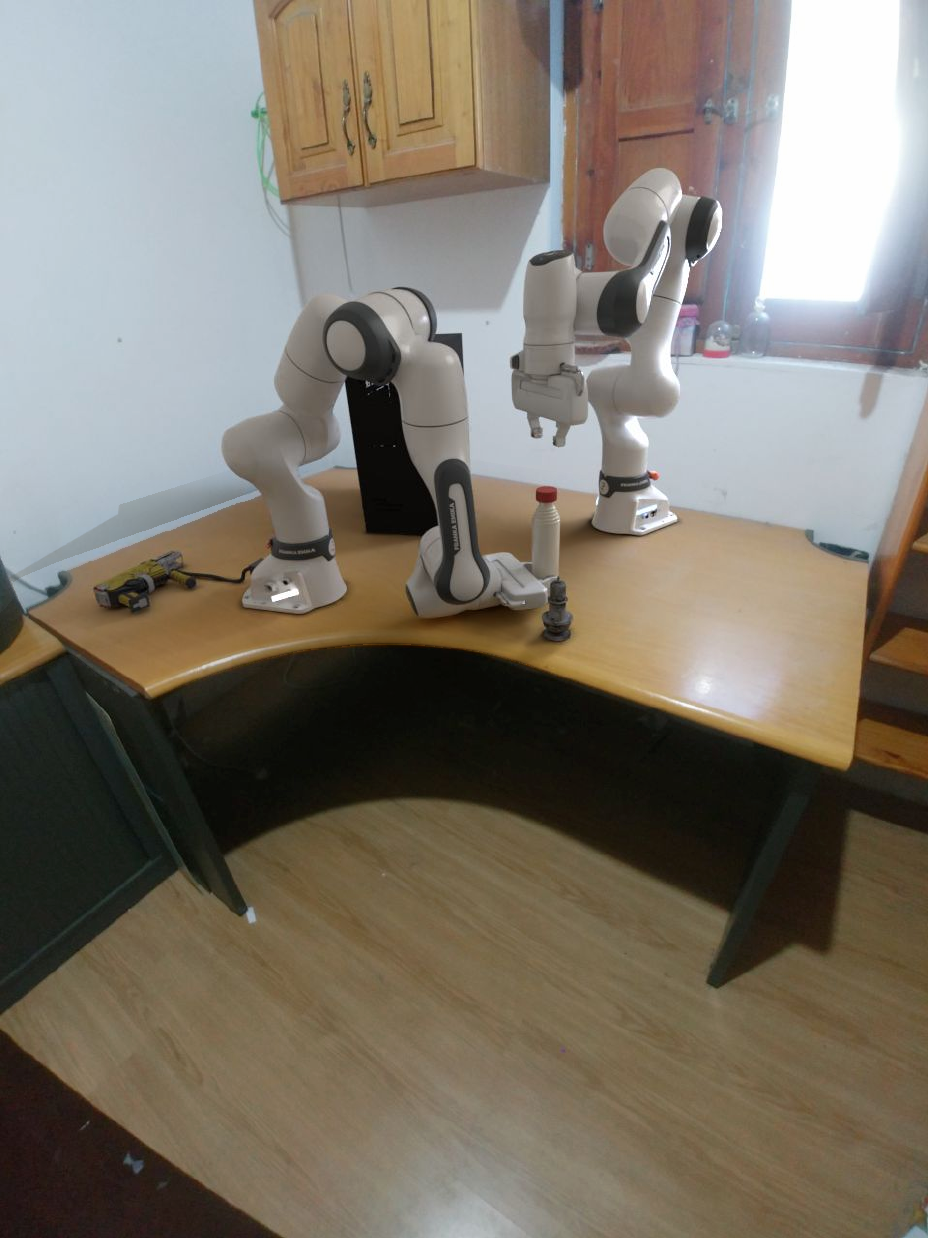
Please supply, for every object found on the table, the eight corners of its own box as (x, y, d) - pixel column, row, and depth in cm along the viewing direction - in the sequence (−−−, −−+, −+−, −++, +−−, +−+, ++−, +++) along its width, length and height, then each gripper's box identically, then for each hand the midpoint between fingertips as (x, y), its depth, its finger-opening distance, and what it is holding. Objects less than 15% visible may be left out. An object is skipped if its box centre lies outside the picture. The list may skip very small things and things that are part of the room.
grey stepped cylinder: (571, 642, 110) (574, 584, 104) (539, 640, 111) (540, 582, 105) (573, 626, 115) (576, 569, 109) (542, 624, 116) (543, 568, 110)
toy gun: (220, 558, 145) (169, 547, 149) (142, 600, 125) (86, 587, 129) (223, 576, 147) (173, 565, 151) (147, 620, 127) (92, 606, 131)
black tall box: (438, 535, 159) (423, 349, 136) (366, 532, 163) (340, 351, 140) (469, 489, 190) (461, 332, 168) (408, 488, 195) (393, 335, 172)
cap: (543, 504, 114) (543, 494, 113) (531, 498, 117) (531, 488, 116) (561, 500, 116) (561, 489, 115) (548, 494, 119) (548, 484, 118)
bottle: (541, 604, 124) (542, 497, 112) (526, 594, 128) (526, 490, 117) (563, 597, 126) (566, 492, 115) (547, 587, 130) (549, 484, 119)
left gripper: (505, 593, 111) (572, 579, 114) (469, 552, 128) (529, 541, 131) (505, 623, 114) (571, 608, 118) (470, 579, 131) (529, 567, 135)
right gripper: (600, 364, 97) (595, 451, 104) (534, 353, 113) (534, 429, 120) (566, 369, 95) (564, 456, 102) (505, 357, 111) (506, 433, 118)
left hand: (548, 572), depth 125 cm, fingers closed on bottle, 5 cm apart
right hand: (547, 441), depth 111 cm, fingers open, 6 cm apart
